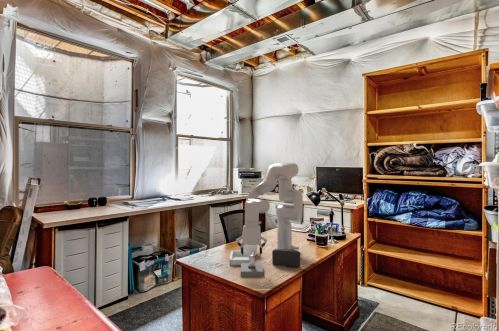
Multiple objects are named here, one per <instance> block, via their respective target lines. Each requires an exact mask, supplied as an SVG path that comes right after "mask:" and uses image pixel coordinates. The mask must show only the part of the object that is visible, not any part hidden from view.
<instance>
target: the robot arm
mask: <svg viewBox="0 0 499 331" xmlns="http://www.w3.org/2000/svg"><path fill="white" fill-rule="evenodd" d="M298 174H299V167H298V164H296V163H294V162H276V163H274V164H270V165H269V166H268V168H267V169H266V172H265V174H264V176H263V178H262V181H261V182H260V183H259V184H258V185H256V186H255V187H254V188H253V189H251V191H249V193H248V195H247V196H246V200H245V204H244V225H243V226H242V235H240V236H239V237H238V238H236V239H235V242H236V243H237V244H236V245H238V246H239V249H240V248H241V253H242V255H243V246H244V245H257V246H259V256H262V254H263V248H264V247H265V246H266V244H267V242H268V238H266V237H264V236H261V235H262V234H261V226H260V225H261V224H262V221H260V220H259V219H260V218H259V217H260V216H259V215H260V214H265V213H267V212H268V211H269V210H270V207H271V206H270V202H269V201H268V200H266V199H262V198H261V199H259V198H258V197H260V196H262V195H265V194H266V193H269V192H272V191H273V190H275V189H276V185H277V183H278V200H279V202H281V203H283V204H279V205H278V206H277V207H276V210H275V214H276V215H275V216H276V222H277V229H276V230H277V237H276V238H277V242H276V244H277V247H276V248H275V249H292V250H297V251H299V250H300V248H299V247H300V246H297V245H293V244H292V243H293V241H292V239H293V237H292V236H293V234H292V233H293V231H292V228H293V226H292V223H291V221H295V222H299V221H301V220H302V218H303V206H304V205H303V202H304V201H303V193H302V191H301V190H300V189H295V188H293V187H292V186H293V185H292V184H293V182H292V179H291V178H295V177H296V176H297V175H298ZM290 204H291V205H290ZM241 240H242V244H241V243H240V241H241ZM261 241H264V242H261Z"/></svg>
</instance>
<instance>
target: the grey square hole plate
mask: <svg viewBox="0 0 499 331" xmlns="http://www.w3.org/2000/svg"><path fill="white" fill-rule="evenodd" d="M263 265H264V264H263V262H255V269H249V263H241V265H240V277H264V267H263Z"/></svg>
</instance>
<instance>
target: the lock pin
mask: <svg viewBox="0 0 499 331" xmlns="http://www.w3.org/2000/svg"><path fill="white" fill-rule="evenodd" d="M255 258H256V257H255V255H249V269H255V263H256V261H255V260H256V259H255Z"/></svg>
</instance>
